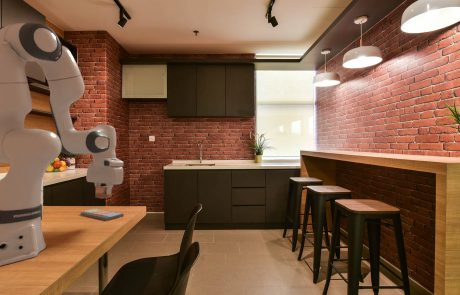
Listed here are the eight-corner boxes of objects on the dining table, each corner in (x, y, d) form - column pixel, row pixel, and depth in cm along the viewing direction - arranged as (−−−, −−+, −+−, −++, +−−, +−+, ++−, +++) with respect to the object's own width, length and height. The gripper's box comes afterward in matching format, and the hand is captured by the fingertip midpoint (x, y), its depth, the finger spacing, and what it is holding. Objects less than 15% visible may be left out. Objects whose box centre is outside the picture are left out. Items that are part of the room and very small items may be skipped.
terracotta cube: (102, 198, 109) (102, 187, 109) (95, 197, 111) (95, 187, 112) (111, 197, 113) (111, 186, 113) (104, 196, 115) (105, 186, 116)
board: (107, 220, 117) (107, 217, 117) (80, 214, 127) (80, 211, 127) (123, 216, 125) (123, 213, 125) (97, 210, 135) (97, 208, 135)
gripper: (83, 161, 115) (81, 192, 114) (113, 162, 105) (112, 196, 105) (96, 161, 121) (95, 190, 120) (126, 162, 111) (125, 194, 110)
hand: (103, 193), depth 112 cm, fingers closed on terracotta cube, 4 cm apart
